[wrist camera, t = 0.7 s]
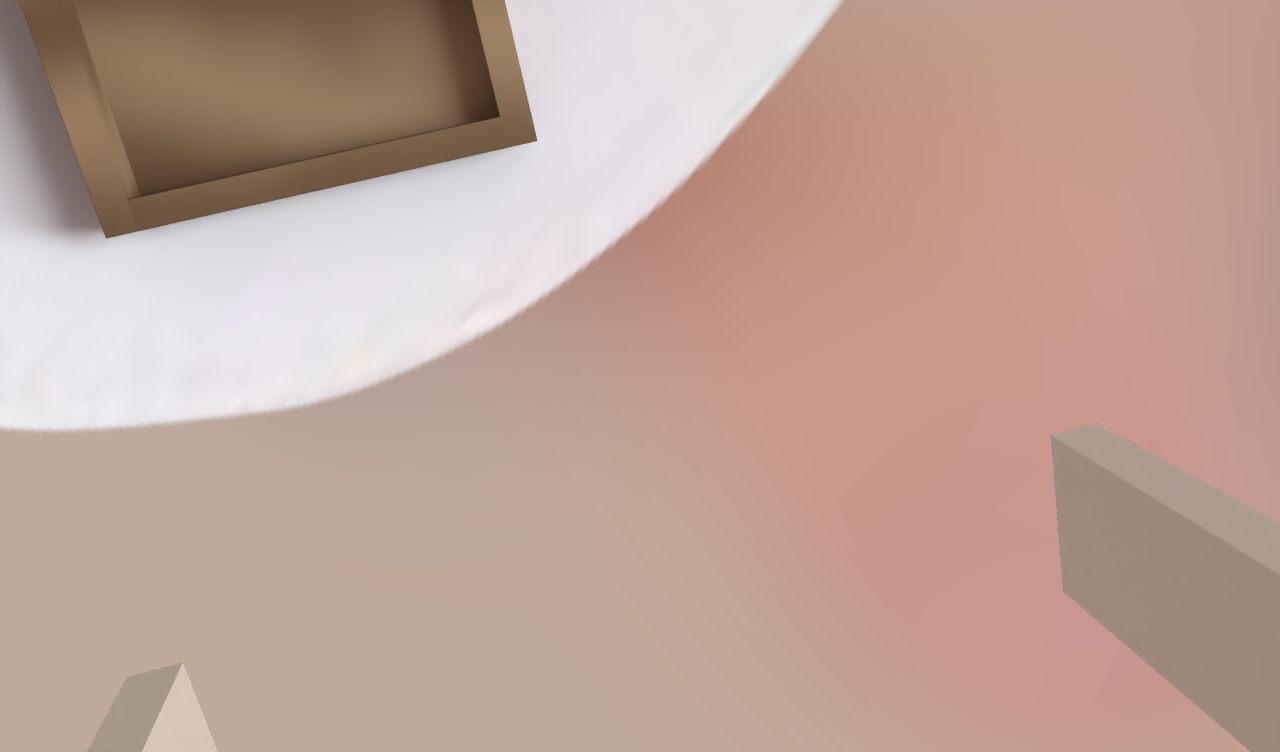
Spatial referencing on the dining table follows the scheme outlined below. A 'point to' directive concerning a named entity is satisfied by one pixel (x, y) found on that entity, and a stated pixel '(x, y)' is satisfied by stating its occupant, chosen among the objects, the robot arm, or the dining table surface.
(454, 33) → the walnut tray
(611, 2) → the dining table surface
